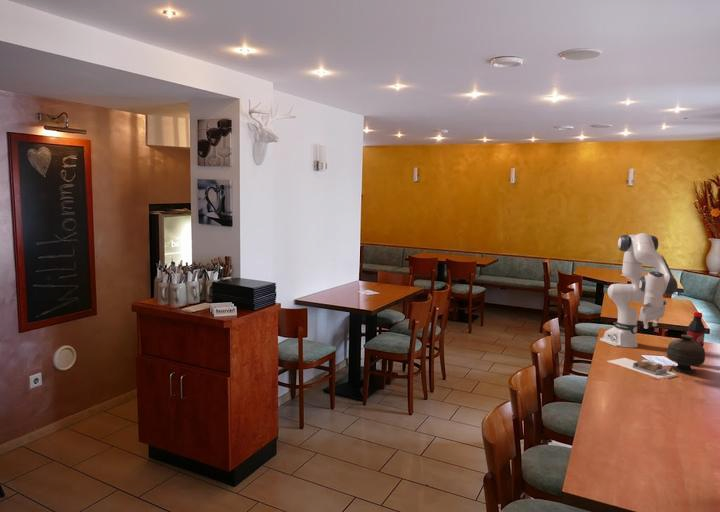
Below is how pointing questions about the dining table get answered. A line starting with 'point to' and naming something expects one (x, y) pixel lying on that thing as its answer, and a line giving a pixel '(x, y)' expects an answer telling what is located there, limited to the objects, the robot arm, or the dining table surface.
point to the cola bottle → (697, 329)
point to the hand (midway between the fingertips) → (650, 327)
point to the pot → (685, 354)
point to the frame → (649, 365)
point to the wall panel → (634, 366)
